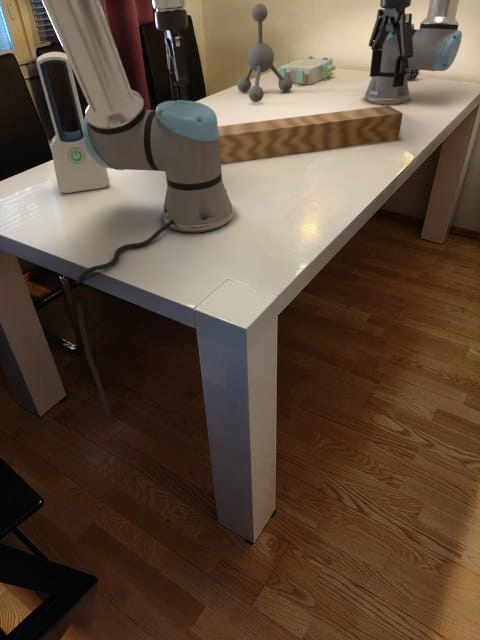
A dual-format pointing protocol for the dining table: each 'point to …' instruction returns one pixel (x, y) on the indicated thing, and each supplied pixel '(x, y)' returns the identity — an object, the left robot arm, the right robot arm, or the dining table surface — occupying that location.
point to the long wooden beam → (308, 133)
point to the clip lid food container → (307, 70)
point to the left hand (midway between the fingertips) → (181, 106)
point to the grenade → (412, 74)
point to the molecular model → (261, 61)
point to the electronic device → (70, 137)
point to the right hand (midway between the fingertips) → (385, 81)
